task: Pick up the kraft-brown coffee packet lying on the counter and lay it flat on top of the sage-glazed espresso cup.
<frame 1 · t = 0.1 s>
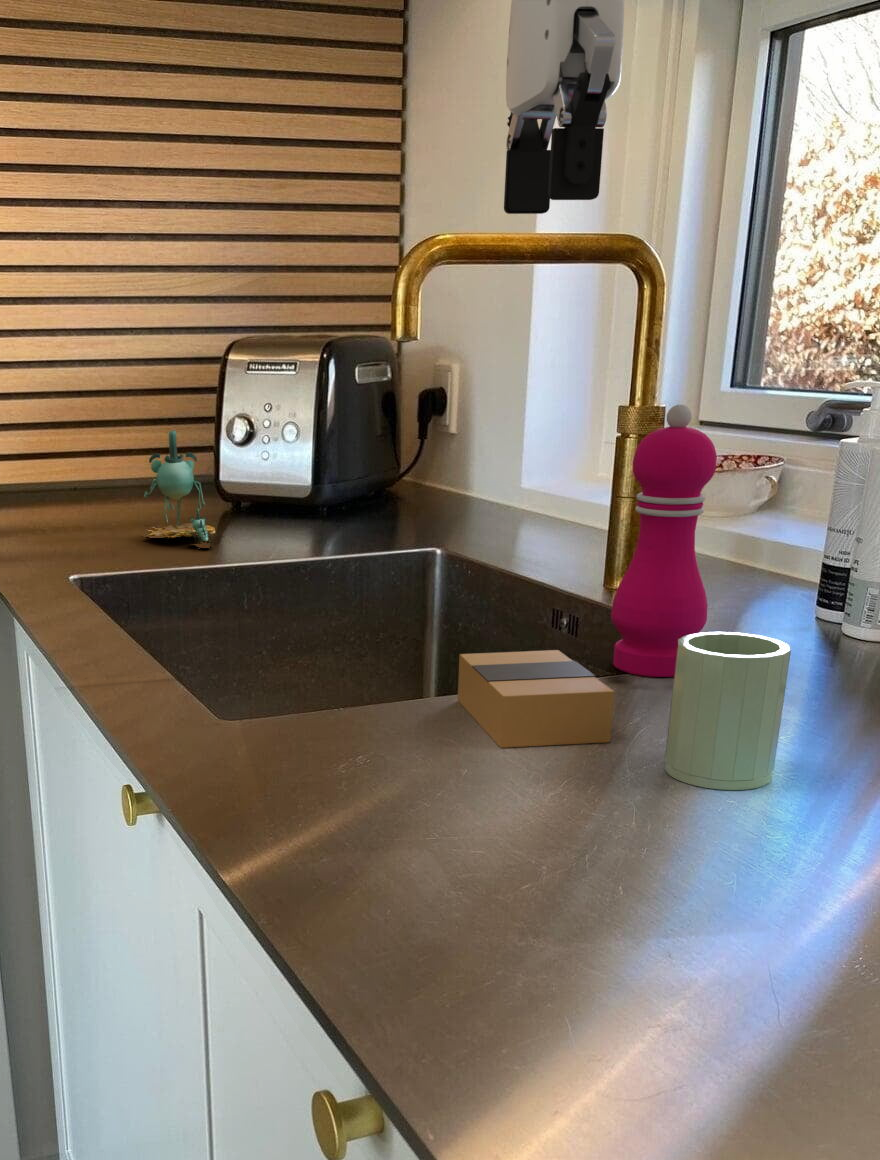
hand: (548, 206, 82), 33 cm above the countertop, tool pointing down, fingers open, 9 cm apart
packet: (529, 720, 84), on the countertop
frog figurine: (178, 542, 158), on the countertop
pepper mill: (652, 669, 97), on the countertop
cup: (717, 772, 74), on the countertop
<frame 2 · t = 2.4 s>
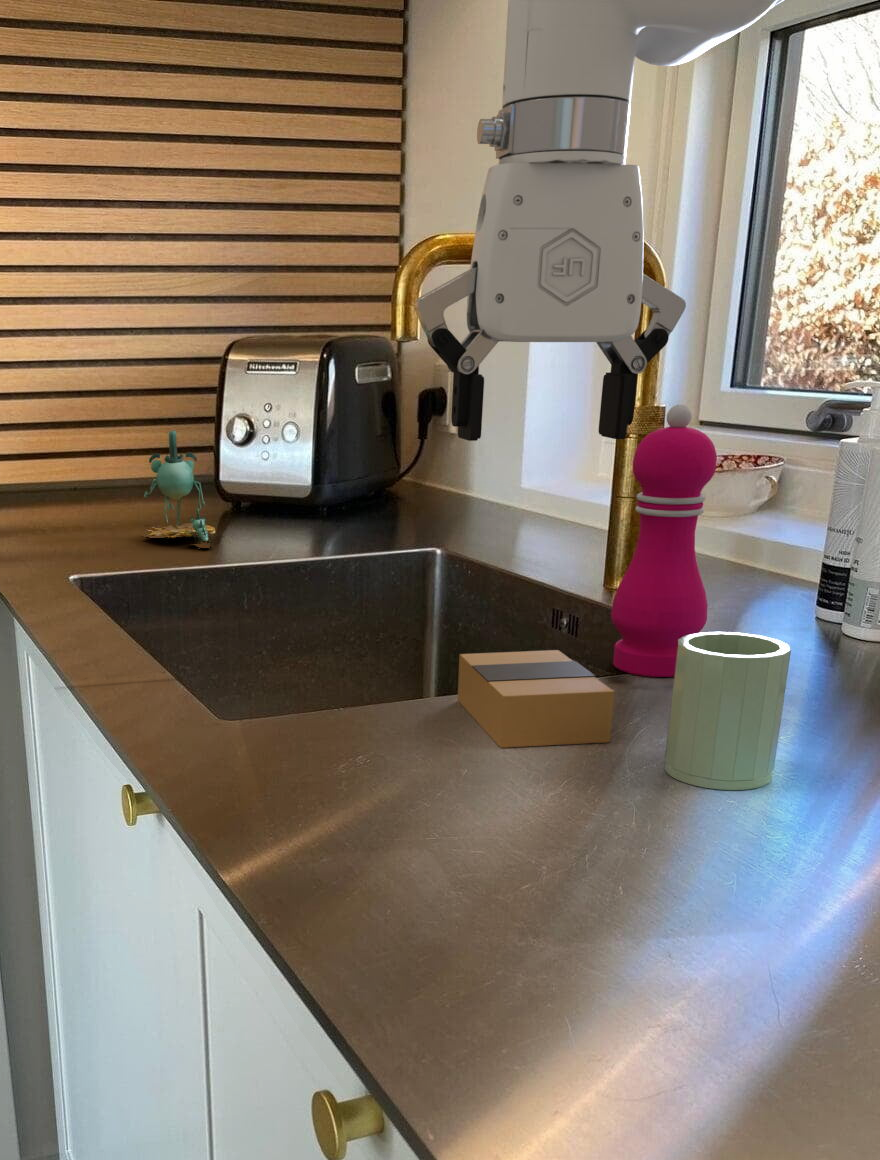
hand: (540, 438, 79), 19 cm above the countertop, tool pointing down, fingers open, 9 cm apart
nothing on the countertop moved.
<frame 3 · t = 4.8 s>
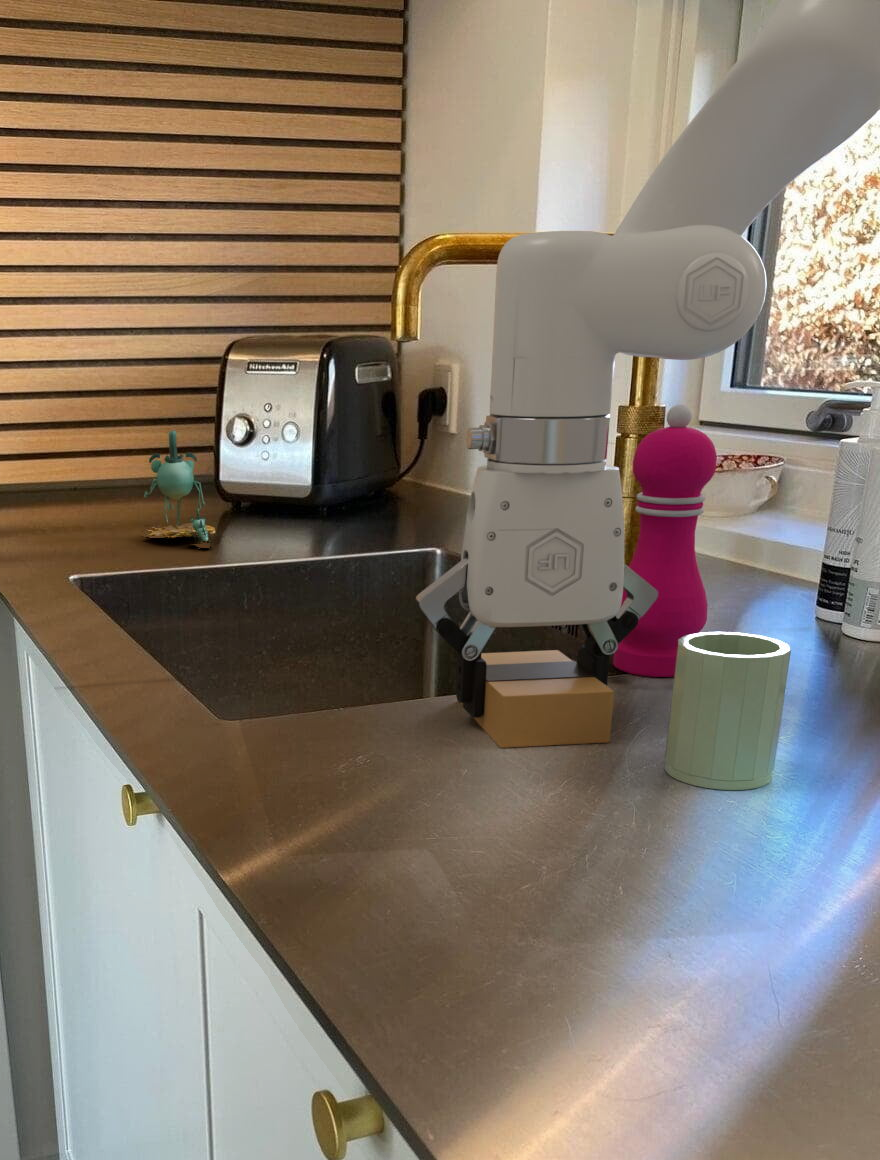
hand: (530, 707, 84), 1 cm above the countertop, tool pointing down, fingers closed on packet, 7 cm apart
packet: (529, 720, 84), on the countertop, touching gripper
everything else where it was.
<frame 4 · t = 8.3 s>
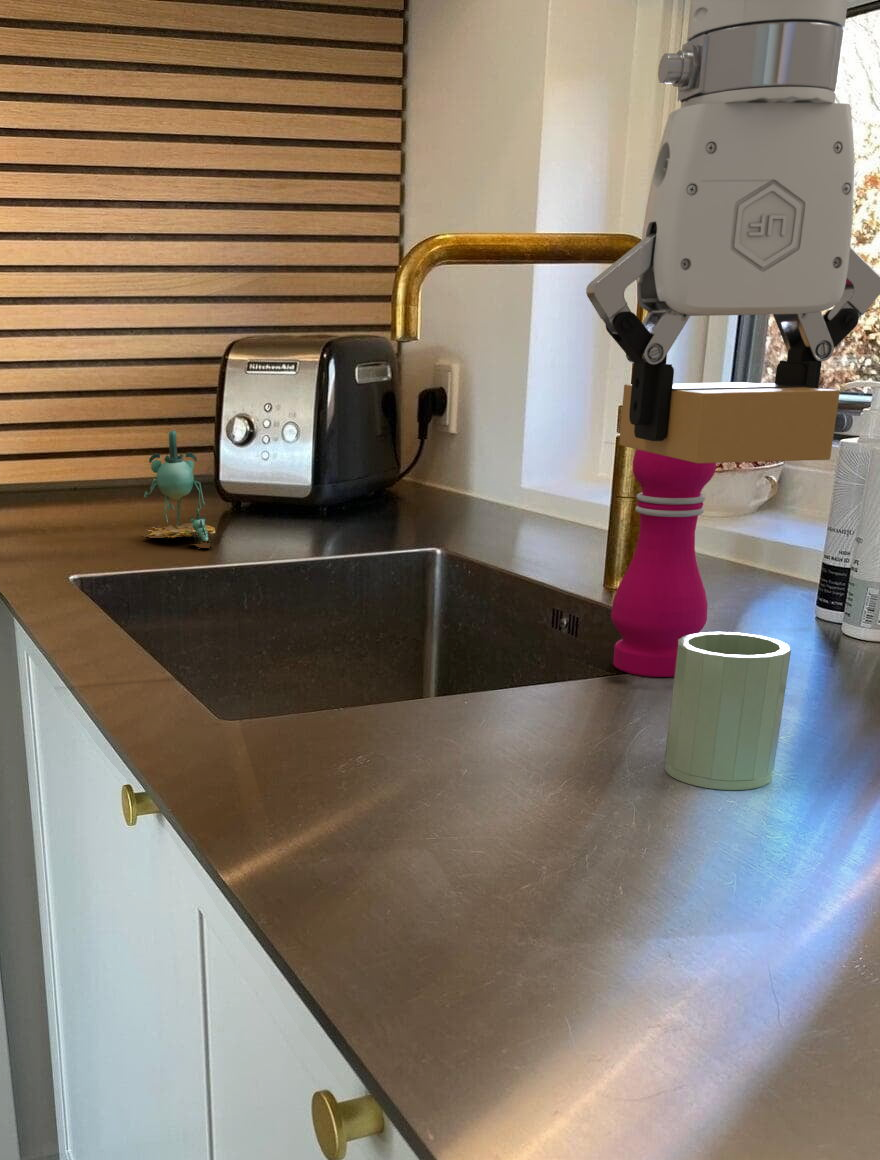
hand: (719, 435, 69), 20 cm above the countertop, tool pointing down, fingers closed on packet, 7 cm apart
packet: (717, 452, 69), point 19 cm above the countertop, touching gripper
everything else where it was.
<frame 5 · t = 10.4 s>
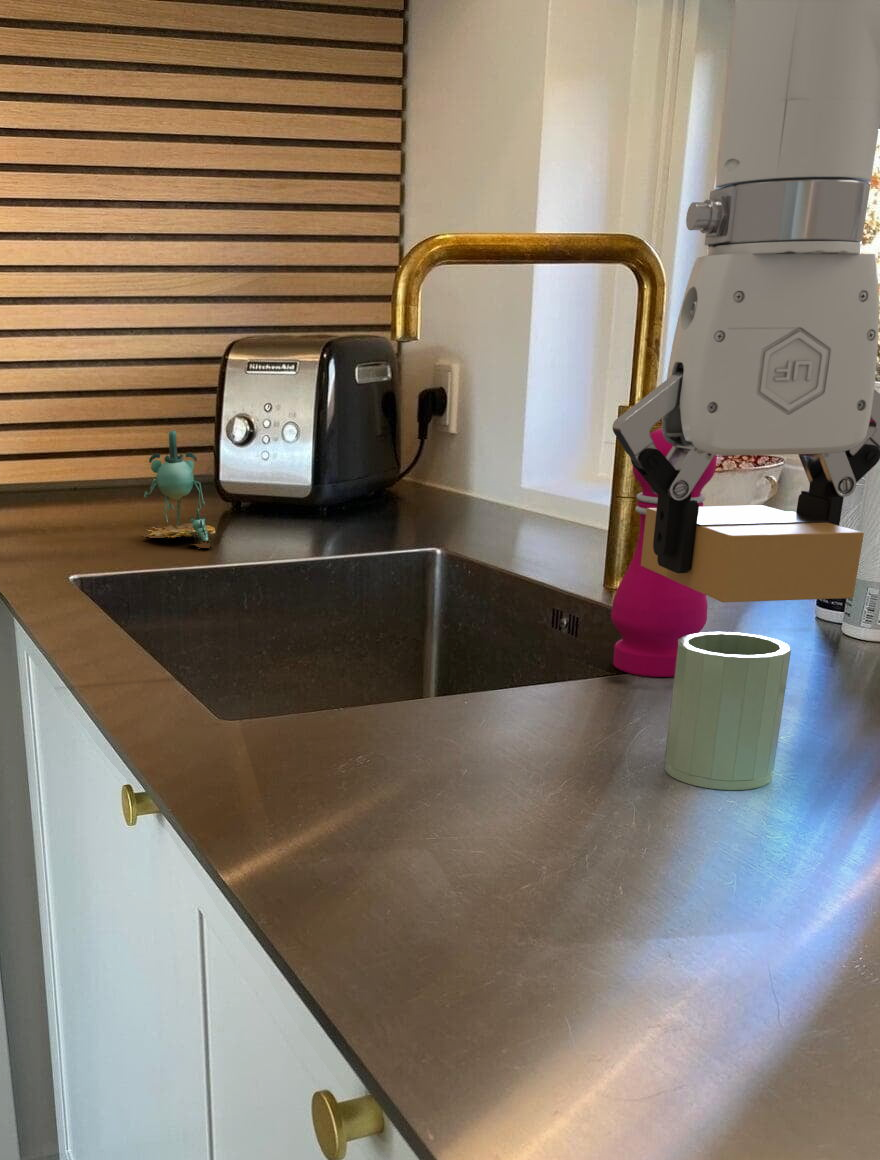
hand: (741, 565, 69), 13 cm above the countertop, tool pointing down, fingers closed on packet, 7 cm apart
packet: (739, 581, 70), point 12 cm above the countertop, touching gripper
everything else where it was.
when the fingers open (9 cm above the countertop, at t = 12.1 s): packet stays where it is, resting on cup.
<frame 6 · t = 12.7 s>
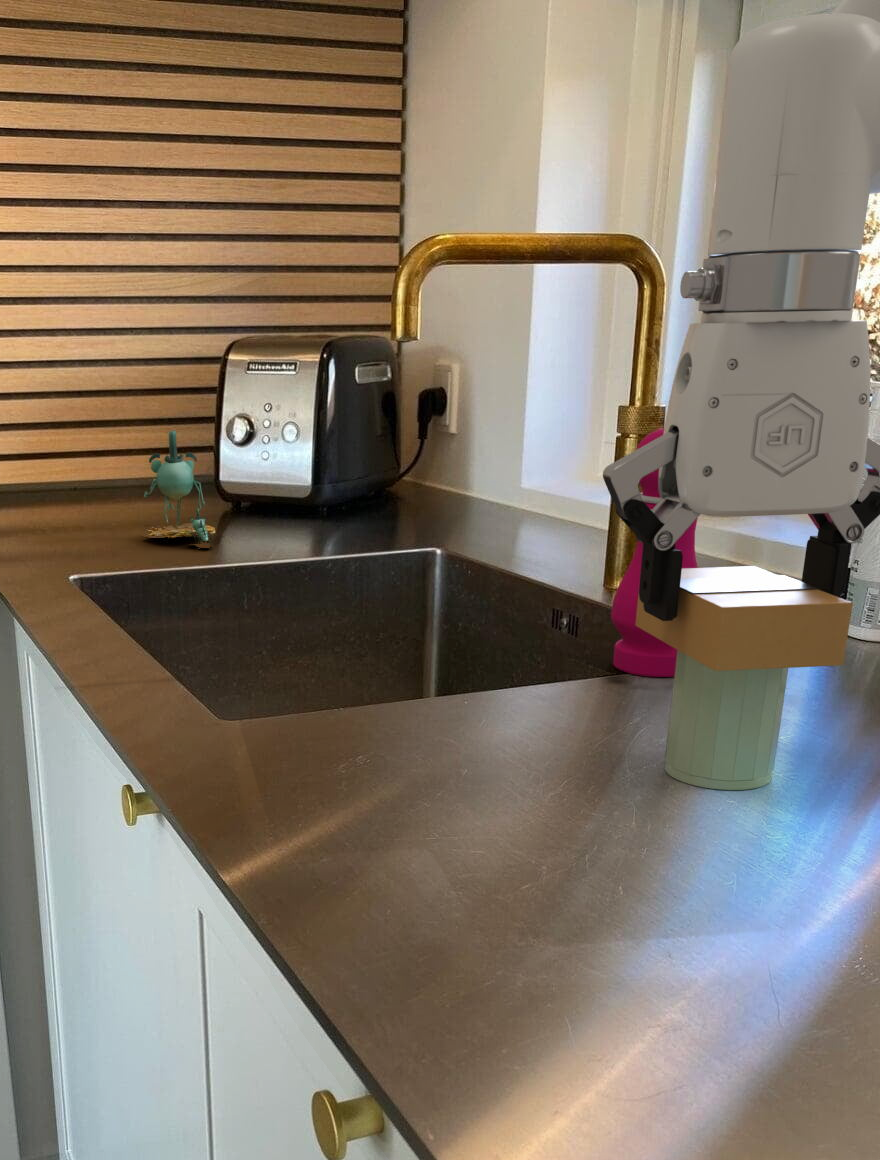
hand: (738, 612, 70), 10 cm above the countertop, tool pointing down, fingers open, 9 cm apart
packet: (732, 644, 71), point 8 cm above the countertop, touching cup
everything else where it was.
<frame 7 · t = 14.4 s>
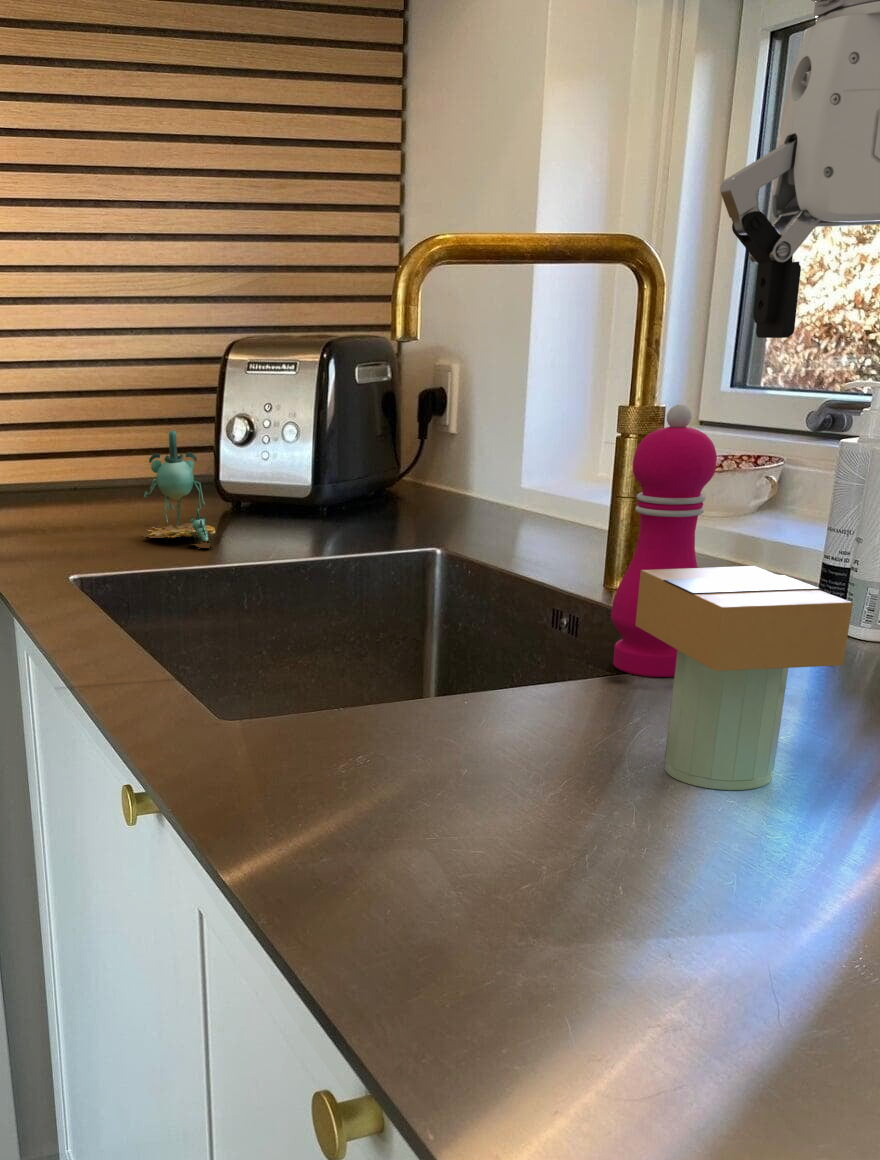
hand: (851, 333, 72), 25 cm above the countertop, tool pointing down, fingers open, 9 cm apart
nothing on the countertop moved.
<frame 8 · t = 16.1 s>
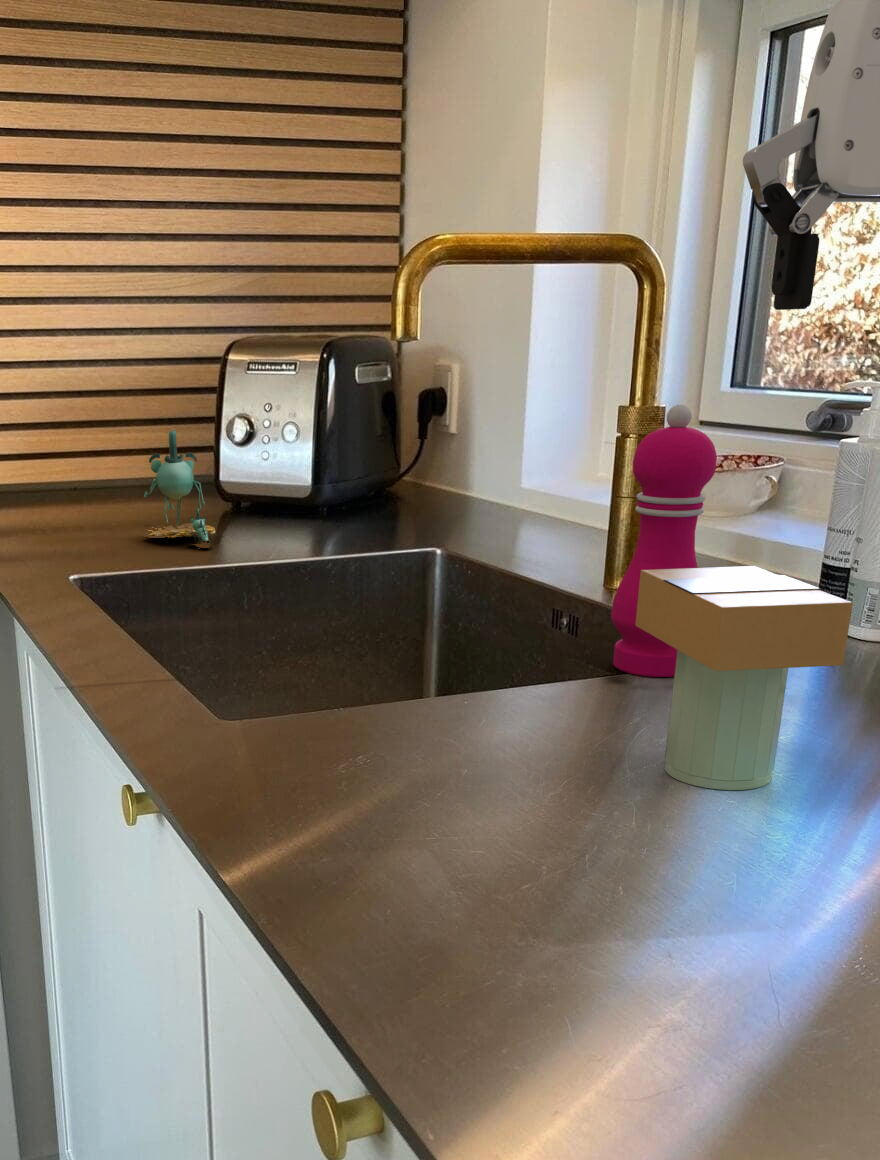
hand: (867, 308, 73), 26 cm above the countertop, tool pointing down, fingers open, 9 cm apart
nothing on the countertop moved.
at the end: packet 0.1 cm off-centre on the cup, point 8.0 cm above the cup's base; packet tilted 0°; the gripper is holding nothing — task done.
